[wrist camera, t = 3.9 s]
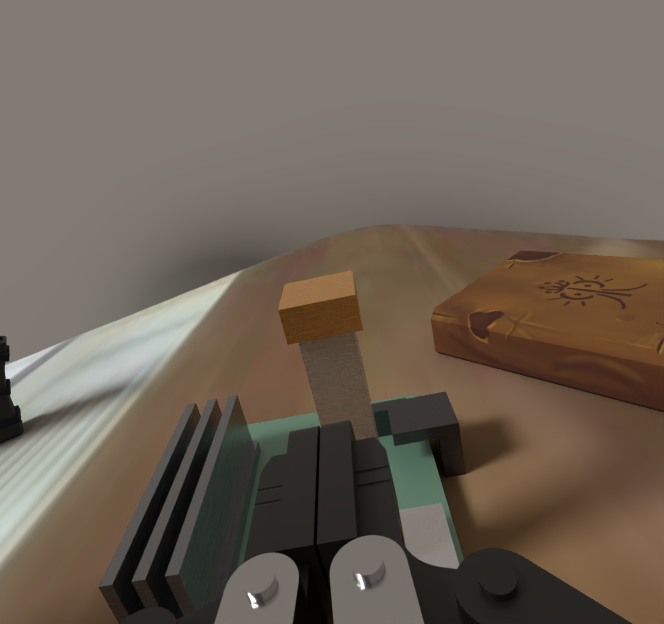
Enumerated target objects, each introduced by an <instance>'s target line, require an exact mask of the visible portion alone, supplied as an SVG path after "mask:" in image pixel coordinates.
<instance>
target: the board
mask: <svg viewBox="0 0 664 624" xmlns="http://www.w3.org/2000/svg"><path fill="white" fill-rule="evenodd" d="M414 397H415V394H413V395H408V396H402V397H397V398H391V399H386V400H380V401H375V402H371V404H373V403H379V402H384V401H390V400H395V399H401V398H406V399H408V398H414ZM247 426H248V429H249V432H250V435H251V438H252V441H255V440H258V442H259V445H260V448H261V452H260V457H259V462H258V467H257V472H256V477H255V482H254V487H253V492H252V497H251V502H250V507H249V511H248V516H247V521H246V526H245V531H244V536H243V541H242V546H241V551H240V556H239V561H238V566H237V569H238V568H239V567H240V566H241V565H242V564H243V562H244V557H245V552H246V546H247V541H248V536H249V531H250V526H251V521H252V515H253V510H254V507H255V500H256V495H257V493H258V484H259V479H260V474H261V472H262V470H263V469H264V467H265V466H266V464H267V463H268V461H269V460H270V458H271V457H272V456H276V455H282V454H287V446H288V438H289V433H290V431H295V430H300V429H305V428H311V427H316V426H320V428H321V425H320V421H319V417H318V414H317V412H315V413H309V414H304V415H298V416H293V417H287V418H282V419H276V420H271V421H266V422H260V423H255V424H249V425H247ZM379 441H380V443H381V444H382V445H383V446H384V448H385V449H386V452H387V456H388V461H389V465H390V469H391V474H392V478H393V483H394V487H395V491H396V496H397V501H398V506H399V510H402V509H408V508H414V507H420V506H426V505H432V504H438V503H442V506H443V509H444V513H445V516H446V520H447V523H448V527H449V530H450V534H451V537H452V541H453V544H454V548H455V551H456V555H457V558H458V562H459V565H460V564H461V562H462V561H463V560H464V557H463V553H462V550H461V547H460V543H459V540H458V537H457V533H456V530H455V527H454V523H453V520H452V517H451V513H450V510H449V507H448V503H447V500H446V497H445V493H444V490H443V487H442V483H441V480H440V477H439V473H438V470H437V467H436V463H435V460H434V457H433V453H432V450H431V447H430V443H429V440H427V441H421V442H415V443H409V444H404V445H398V446H394V441H393V436H392V435H389V436H384V437H379Z"/></svg>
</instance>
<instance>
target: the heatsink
mask: <svg viewBox="0 0 664 624" xmlns="http://www.w3.org/2000/svg"><path fill="white" fill-rule="evenodd" d="M372 409H373V413H374V418H375V423H376V427H377V432H378V437H384V436H389V435H392V436H393V441H394V446H398V445H404V444H409V443H415V442H421V441H427V440H432V439H435V444H436V447H437V450H438V453H439V456H440V460H441V463H442V466H443V469H444V472H445V475H446V477H450V476H456V475H462V474H465V467H464V460H463V452H462V445H461V438H460V430H459V423H458V420H457V418H456V416H455V413H454V411H453V408H452V406H451V403H450V401H449V399H448V396H447V394H446V392H441V393H436V394H430V395H425V396H419V397H414V398H408V399H406V398H401V399H395V400H390V401H384V402H379V403H373V404H372ZM260 452H261V448H260V445H259V442H258V440H255V441H252V438H251V435H250V432H249V429H248V426H247V423H246V420H245V417H244V414H243V411H242V408H241V405H240V402H239V399H238V396H237V395H234V396H229V397H228V400H227V402H226V405H225V408H224V411H223V414H222V413H221V411H220V408H219V405H218V402H217V399H213V400H208V401H207V404H206V406H205V408H204V411H203V413H202V416H201V415H200V413H199V410H198V407H197V405H196V403H192V404H187V406H186V408H185V410H184V412H183V414H182V416H181V418H180V420H179V422H178V425H177V427H176V429H175V431H174V433H173V435H172V437H171V439H170V441H169V443H168V445H167V447H166V449H165V451H164V453H163V455H162V457H161V460H160V462H159V464H158V466H157V468H156V470H155V472H154V474H153V476H152V478H151V480H150V482H149V484H148V486H147V488H146V490H145V492H144V495H143V497H142V499H141V501H140V503H139V505H138V507H137V509H136V511H135V513H134V515H133V517H132V519H131V521H130V523H129V525H128V527H127V530H126V532H125V534H124V536H123V538H122V540H121V542H120V544H119V546H118V548H117V550H116V552H115V554H114V556H113V558H112V560H111V562H110V565H109V567H108V569H107V571H106V573H105V575H104V577H103V579H102V581H101V583H100V585H99V589H100V590H101V592H102V594H103V596H104V598H105V599H106V601H107V603H108V605H109V606H110V608H111V610H112V612H113V614H114V615H115V617H116V619H117V621H118V622H119V623H120V622H122V621H123V620H124V619H126V618H127V617H128V616H130V615H132V614H134V613H135V612H138V611H140V610H142V609H146V608H150V607H162V608H165V609H167V610H169V611H170V612H171V613H172V614H173V615H174V617H175V619H176V620H177V619H179V618H181V617H183V616H185V615H187V614H189V613H191V612H193V611H195V610H197V609H199V608H202V607H204V606H206V605H207V604H209V603H211V602H213V601H214V600H216V599H217V598H219V597H220V596H221V595H222V594H223V593H224V590H225V587H226V585H227V582H228V581H229V579H230V577H231V576H232V574H233V573H234V572H235V571H236V570H237V566H238V561H239V556H240V551H241V546H242V541H243V536H244V531H245V526H246V521H247V516H248V511H249V507H250V502H251V497H252V492H253V487H254V482H255V477H256V472H257V467H258V462H259V457H260Z"/></svg>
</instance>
